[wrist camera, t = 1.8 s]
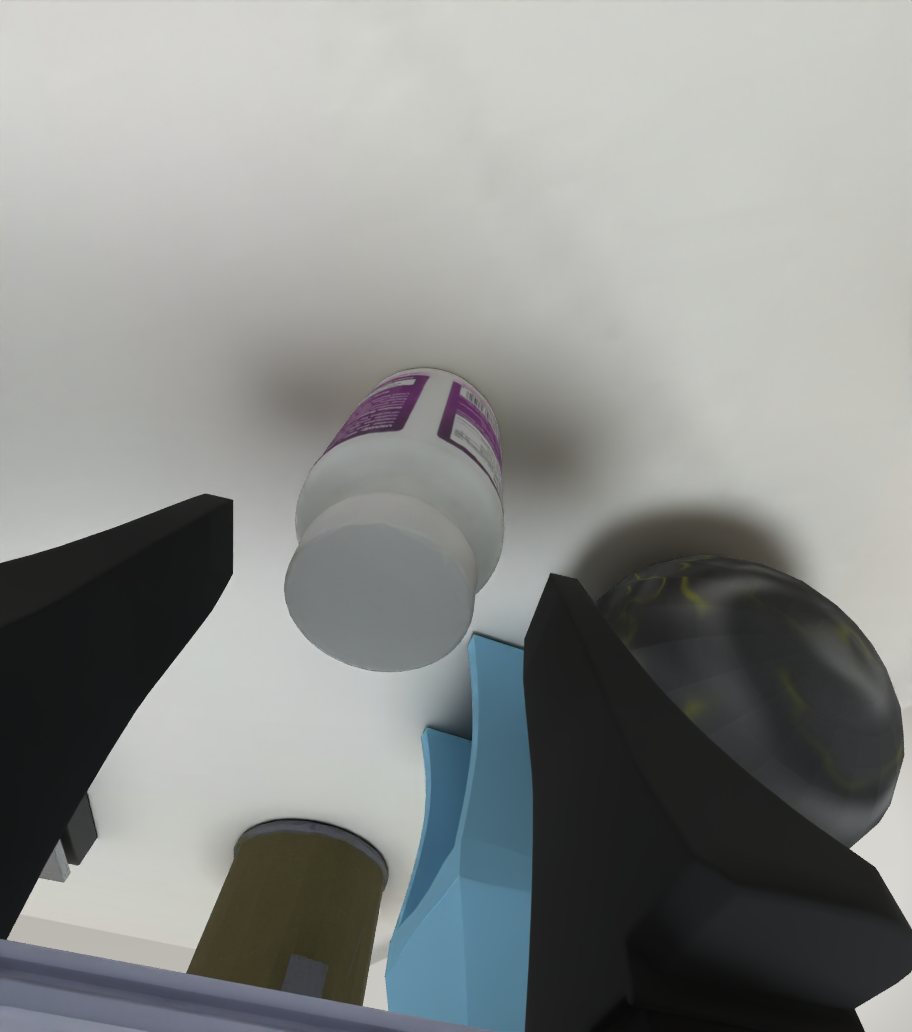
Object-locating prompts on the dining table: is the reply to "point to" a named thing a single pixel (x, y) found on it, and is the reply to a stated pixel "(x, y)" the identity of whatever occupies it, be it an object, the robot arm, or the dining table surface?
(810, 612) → the decorative stone
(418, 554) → the pill bottle
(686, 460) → the dining table surface
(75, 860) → the base
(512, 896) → the blue flared beam
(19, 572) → the robot arm
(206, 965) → the canister
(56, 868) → the pan
